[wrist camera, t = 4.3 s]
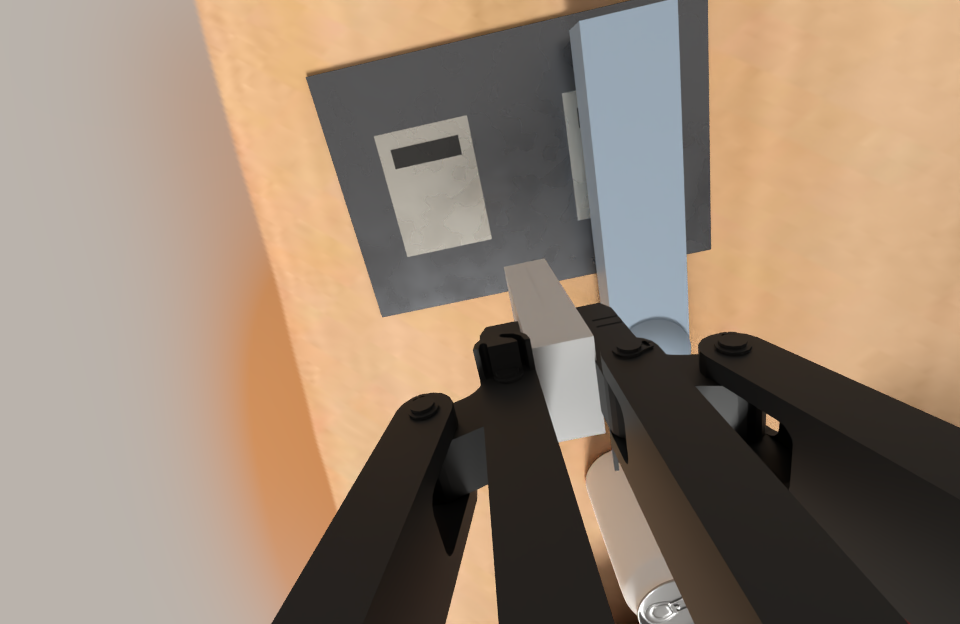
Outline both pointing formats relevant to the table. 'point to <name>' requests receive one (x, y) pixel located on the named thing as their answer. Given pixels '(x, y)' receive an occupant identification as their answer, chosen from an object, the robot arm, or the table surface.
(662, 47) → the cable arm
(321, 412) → the table surface
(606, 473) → the can
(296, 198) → the table surface
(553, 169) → the label panel
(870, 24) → the table surface
